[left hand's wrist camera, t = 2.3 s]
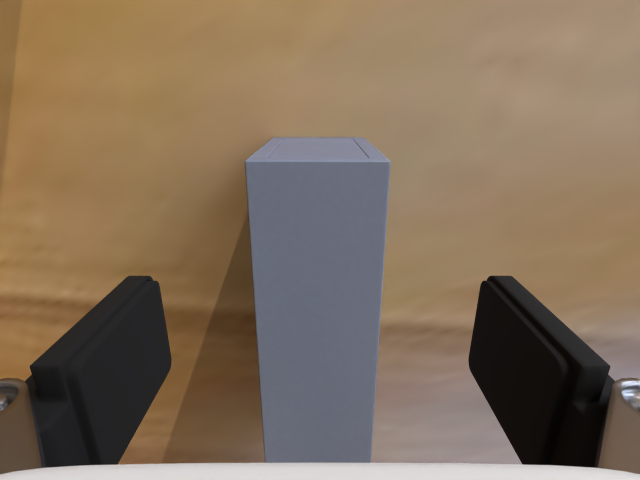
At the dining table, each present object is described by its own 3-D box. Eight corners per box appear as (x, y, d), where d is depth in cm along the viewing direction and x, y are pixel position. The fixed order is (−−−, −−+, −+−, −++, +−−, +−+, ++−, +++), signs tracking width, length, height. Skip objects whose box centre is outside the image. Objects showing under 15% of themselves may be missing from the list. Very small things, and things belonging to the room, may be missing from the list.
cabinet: (354, 368, 33) (369, 482, 23) (282, 368, 33) (266, 482, 23) (364, 137, 26) (391, 160, 16) (272, 137, 26) (244, 160, 16)
